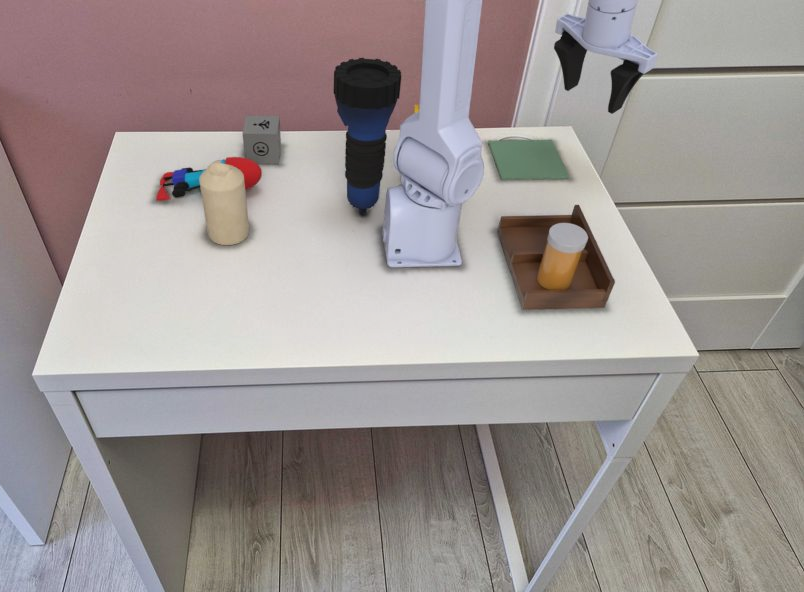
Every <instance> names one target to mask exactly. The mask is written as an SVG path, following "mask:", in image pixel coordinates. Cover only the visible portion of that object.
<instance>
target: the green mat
mask: <svg viewBox="0 0 804 592" xmlns="http://www.w3.org/2000/svg"><path fill="white" fill-rule="evenodd" d="M487 143H488V147H489V149H490V153H491V155H492V158H493V161H494V163H495V166H496V169H497V172H498V175H499V177H500V180H501V181H514V180H515V181H516V180H519V181H520V180H568V179H570V175H569V173H568V171H567V169H566V167H565V165H564V163H563V160H562V158H561V156H560V154H559V152H558V150H557V148H556V145H555V144H554V141H553V140H552V139H529V140H528V139H525V140H524V139H523V140H520V139H519V140H488V142H487Z"/></svg>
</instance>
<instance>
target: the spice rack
mask: <svg viewBox="0 0 804 592" xmlns="http://www.w3.org/2000/svg"><path fill="white" fill-rule="evenodd" d="M558 223H570V224H574V225H577V226H579V227H581V228H582V229H583V230H585V232H586V233H587V235H588V240H587V243H586V246H585V248H584V249H583V252H582V255H581V258H580V260H579V263H578V266H577V269H576V272H575V275H574V278H573V280H572V283H571V286H570V287H569V288H568V289H566V290H548V289H546V288H544V287H542V286H541V285H540V284H539V283H538V281H537V273H538V270H539V266H540V263H541V260H542V256H543V253H544V250H545V246H546V243H547V236H548V233H549V230H550V228H551V227H552V226H553V225H555V224H558ZM591 229H592V228H591V227H590V225H589V223H588V220H587V219H586V216H585V214H584V212H583V210H582V209H581V206H580V204H574V206H573V209H572V212H571V214H539V215H501V216H500V219H499V225H498V228H497V235H498V237H499V240H500V244H501V247H502V250H503V252H504V255H505V259H506V262H507V265H508V268H509V271H510V274H511V277H512V280H513V284H514V286H515V290H516V294H517V296H518V300H519V302H520V305H521V308H522V310H524V311H527V310H528V311H529V310H564V309H565V310H567V309H570V310H571V309H572V310H573V309H603V308H606V305H607V303H608V301H609V298H610V295H611V293H612V291H613V288H614V286H615V284H616V281H615V279H614V275H613V274H612V272H611V269H610V268H609V266H608V263H607V261H606V259H605V258H604V255H603V253H602V251H601V247H600V246H599V244H598V241H597V239H596V237H595V236H594V233H593V232H592V230H591Z"/></svg>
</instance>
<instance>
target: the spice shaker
mask: <svg viewBox="0 0 804 592" xmlns="http://www.w3.org/2000/svg"><path fill="white" fill-rule="evenodd" d="M587 240H588V235H587V233H586V232H585V230H583V229H582V228H581V227H579V226H577V225H574V224H570V223H558V224H555V225H553V226H552V227H551V228H550V230H549V233H548V236H547V243H546V246H545V250H544V253H543V256H542V260H541V263H540V266H539V270H538V273H537V281H538V283H539V284H540V285H541V286H542V287H544V288H546V289H548V290H566V289H568V288H569V287H570V286H571V283H572V280H573V278H574V275H575V272H576V269H577V266H578V263H579V260H580V258H581V255H582V252H583V249H584V248H585V246H586V243H587Z"/></svg>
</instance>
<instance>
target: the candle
mask: <svg viewBox="0 0 804 592" xmlns="http://www.w3.org/2000/svg"><path fill="white" fill-rule="evenodd" d="M211 163H212V162H211ZM211 163H209V164H208V166H209V167H208V166H207V167H208V168H207V167H206V168H205V169H206V170H205V171H204V172H203V173H202V174H201V175H200V178H199V182H200V188H199V189H200V194H201V200H202V206H203V211H204V212H203V213H204V219H205V224H206V230H207V231H206V232H207V235H208V238H209V239H210V241H212V242H213V243H215V244H218V245H222V246H233V245H238V244H239V243H242V242H243V241H245V240H246V239H247V238H248V236H249V234H250V223H249V213H248V202H247V193H246V190H245V182H244V175H243V173H242V172H241V171H240V170H239V169H237V168H236V167H234V166H231V165H227V164H223V163H212V164H211Z"/></svg>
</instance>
